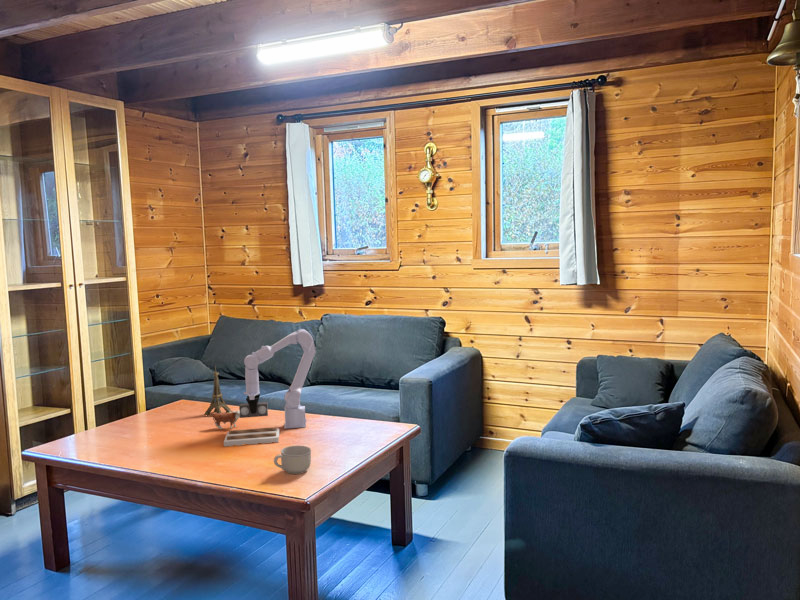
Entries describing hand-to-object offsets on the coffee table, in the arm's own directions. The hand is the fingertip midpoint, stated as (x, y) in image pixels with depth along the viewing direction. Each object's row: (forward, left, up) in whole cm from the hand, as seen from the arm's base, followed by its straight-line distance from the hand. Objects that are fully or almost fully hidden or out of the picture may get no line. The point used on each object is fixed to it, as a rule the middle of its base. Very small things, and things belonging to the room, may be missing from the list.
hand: (253, 412), depth 279 cm
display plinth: (0, +14, -8) cm, 16 cm away
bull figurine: (+12, -7, -8) cm, 16 cm away
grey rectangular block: (0, 0, -2) cm, 2 cm away
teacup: (-17, +59, -8) cm, 62 cm away
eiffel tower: (+20, -35, -8) cm, 41 cm away
